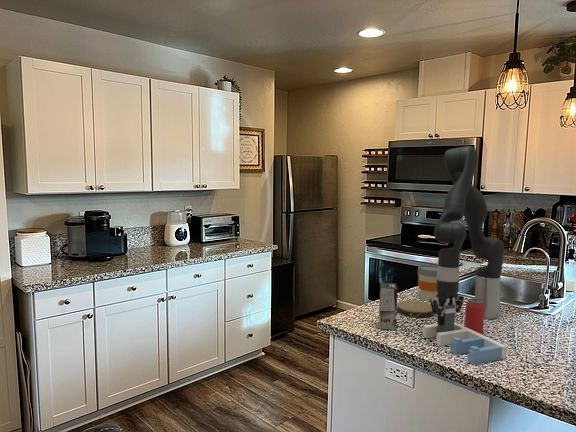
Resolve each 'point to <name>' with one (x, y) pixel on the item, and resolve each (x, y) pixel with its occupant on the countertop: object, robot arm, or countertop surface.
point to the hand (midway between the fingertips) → (445, 324)
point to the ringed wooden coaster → (415, 309)
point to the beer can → (474, 315)
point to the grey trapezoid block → (448, 319)
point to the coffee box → (388, 306)
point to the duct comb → (467, 343)
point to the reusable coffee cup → (427, 281)
